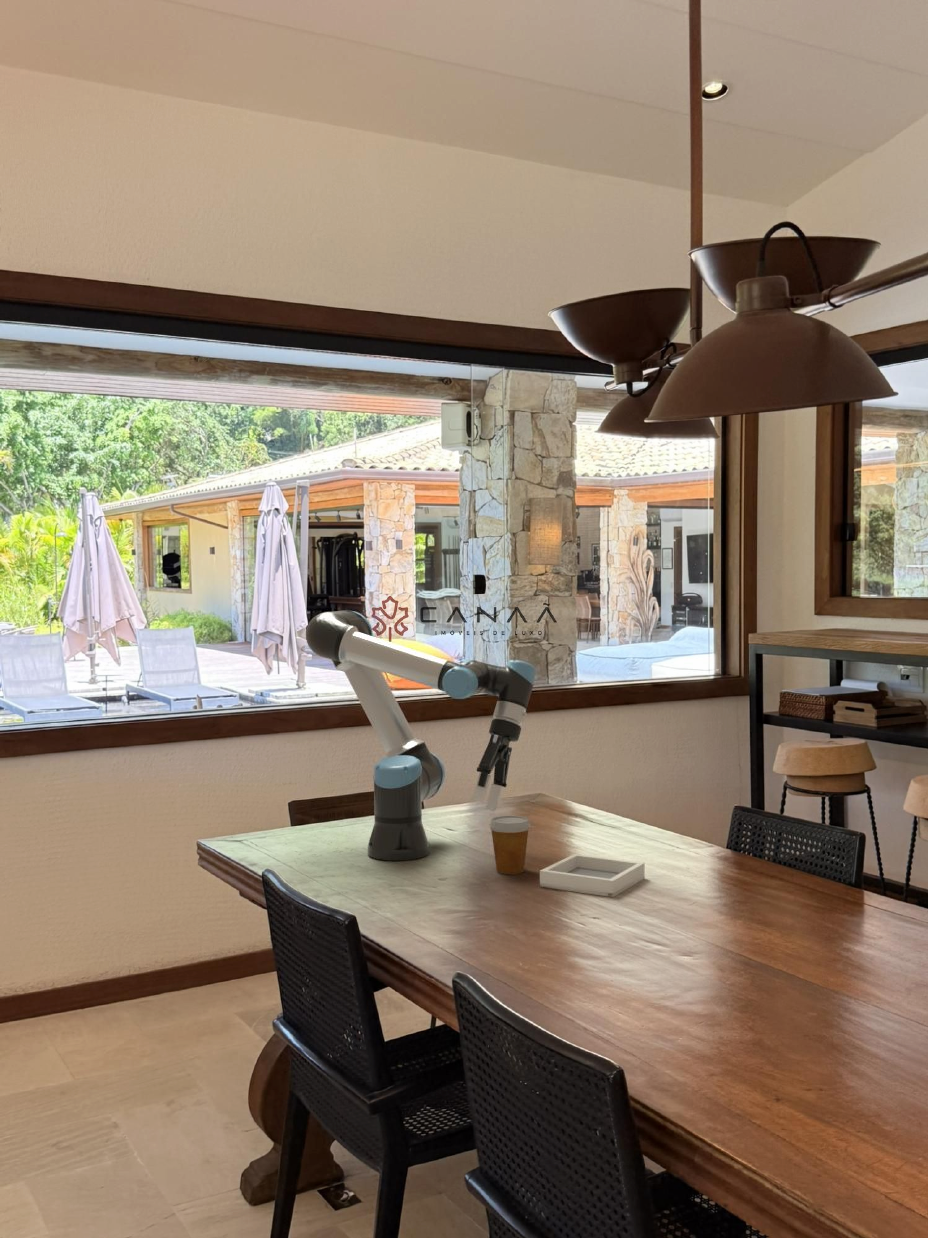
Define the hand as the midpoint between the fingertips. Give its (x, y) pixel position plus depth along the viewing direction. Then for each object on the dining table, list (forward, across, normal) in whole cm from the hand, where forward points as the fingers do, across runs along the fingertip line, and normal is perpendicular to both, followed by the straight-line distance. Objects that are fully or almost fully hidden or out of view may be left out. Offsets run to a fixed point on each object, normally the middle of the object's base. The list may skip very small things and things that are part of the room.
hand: (484, 806), depth 280 cm
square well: (+12, -11, -32) cm, 36 cm away
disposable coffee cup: (+14, -5, -12) cm, 19 cm away
